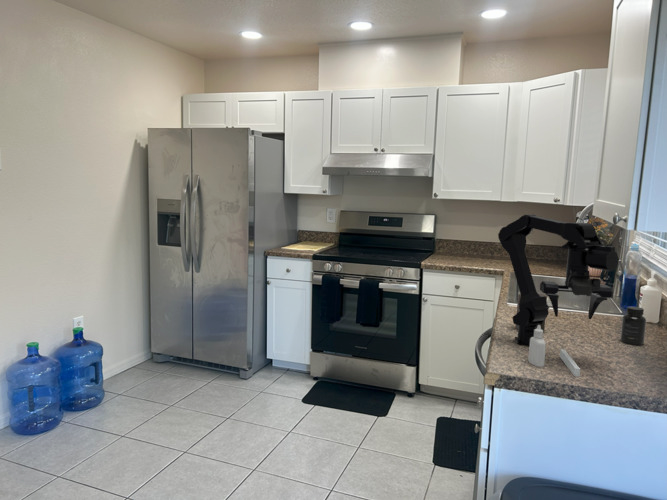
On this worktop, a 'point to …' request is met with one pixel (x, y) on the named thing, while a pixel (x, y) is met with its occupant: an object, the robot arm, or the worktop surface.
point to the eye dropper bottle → (537, 348)
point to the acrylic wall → (570, 363)
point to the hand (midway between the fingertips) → (572, 317)
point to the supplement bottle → (633, 326)
